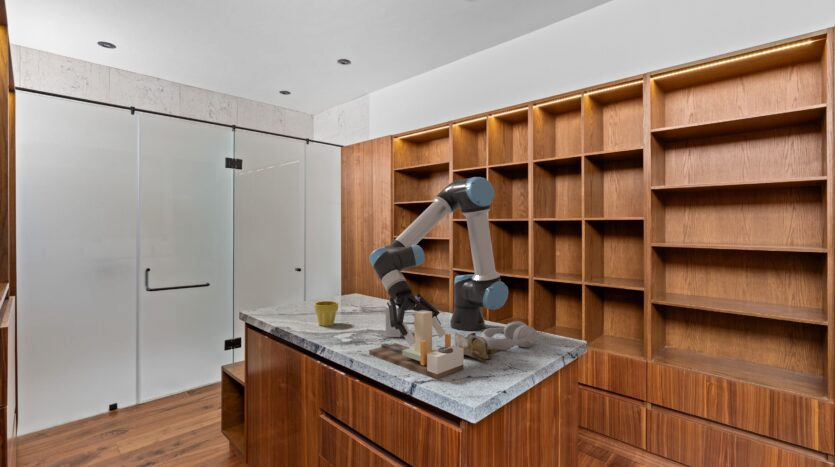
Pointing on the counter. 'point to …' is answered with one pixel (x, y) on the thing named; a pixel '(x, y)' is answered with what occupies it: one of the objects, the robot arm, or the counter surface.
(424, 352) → the frame
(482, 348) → the ceramic sculpture
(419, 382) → the counter surface
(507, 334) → the headphones
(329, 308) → the plant pot
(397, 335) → the skincare box
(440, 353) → the cream rectangular block
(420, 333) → the upright wooden block
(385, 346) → the rail base
